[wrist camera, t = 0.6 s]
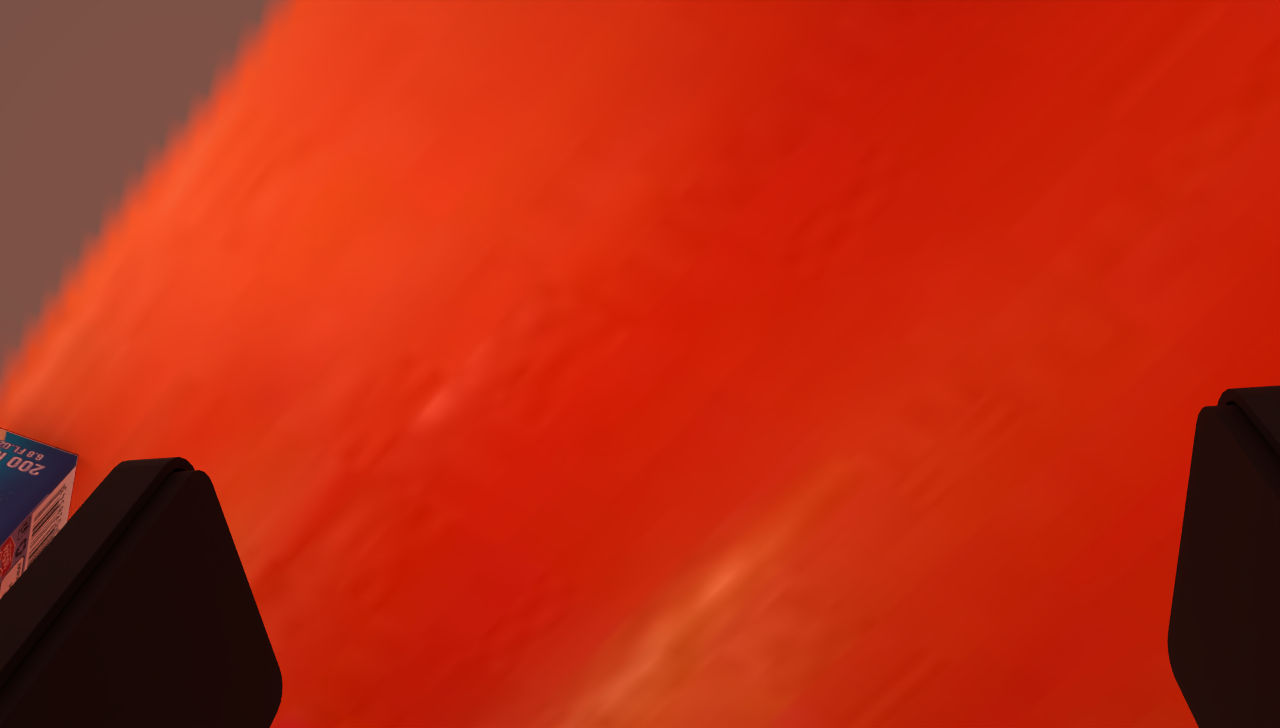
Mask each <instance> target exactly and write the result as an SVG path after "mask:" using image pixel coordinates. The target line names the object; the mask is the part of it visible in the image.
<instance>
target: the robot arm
mask: <svg viewBox="0 0 1280 728" xmlns="http://www.w3.org/2000/svg"><path fill="white" fill-rule="evenodd" d="M1168 653H1169V659H1170V664H1171V667H1172V671H1173V674H1174V676H1175V679H1176V681H1177V683H1178V685H1179V687H1180V689H1181V691H1182V694H1183V696H1184V698H1185V700H1186V702H1187V704H1188V706H1189V708H1190V710H1191V712H1192V714H1193V716H1194V718H1195V720H1196V723H1197V725H1198V727H1199V728H1280V386H1265V387H1250V388H1234V389H1227V390H1226V391H1225V392H1223V393H1222V395H1221V397H1220V399H1219V401H1218V405H1217V406H1206V407H1204V408H1202V409H1201V411H1200V413H1199V415H1198V419H1197V423H1196V430H1195V438H1194V445H1193V453H1192V460H1191V467H1190V475H1189V482H1188V490H1187V497H1186V504H1185V512H1184V519H1183V527H1182V534H1181V542H1180V549H1179V556H1178V564H1177V571H1176V579H1175V586H1174V593H1173V601H1172V608H1171V616H1170V623H1169V630H1168ZM281 697H282V676H281V672H280V668H279V665H278V663H277V660H276V657H275V654H274V652H273V649H272V646H271V643H270V641H269V638H268V635H267V632H266V630H265V627H264V624H263V621H262V619H261V616H260V613H259V610H258V608H257V605H256V602H255V599H254V597H253V594H252V591H251V588H250V586H249V583H248V580H247V577H246V575H245V572H244V569H243V566H242V564H241V561H240V558H239V555H238V553H237V550H236V547H235V544H234V542H233V539H232V536H231V533H230V531H229V528H228V525H227V522H226V520H225V517H224V514H223V511H222V509H221V506H220V503H219V500H218V498H217V495H216V492H215V489H214V487H213V484H212V482H211V480H210V478H209V476H208V475H207V474H206V473H205V472H203V471H200V470H196V471H195V470H194V468H193V466H192V465H191V464H190V463H189V462H188V461H187V460H186V459H183V458H181V457H173V458H158V459H142V460H129V461H124V462H121V463H120V464H118V465H117V466H116V467H115V468H114V469H113V470H112V471H111V472H110V473H109V474H108V476H107V477H106V478H105V479H104V480H103V481H102V482H101V484H100V485H99V486H98V487H97V488H96V489H95V491H94V492H93V493H92V494H91V495H90V496H89V497H88V499H87V500H86V501H85V502H84V503H83V504H82V506H81V507H80V508H79V509H78V510H77V511H76V512H75V514H74V515H73V516H72V517H71V518H70V519H69V521H68V522H67V523H66V524H65V525H64V526H63V527H62V529H61V530H60V531H59V532H58V533H57V534H56V536H55V537H54V538H53V539H52V540H51V541H50V542H49V544H48V545H47V546H46V547H45V548H44V549H43V550H42V552H41V553H40V554H39V555H38V556H37V557H36V559H35V560H34V561H33V562H32V563H31V564H30V565H29V567H28V568H27V569H26V570H25V571H24V572H23V574H22V575H21V576H20V577H19V578H18V579H17V580H16V582H15V583H14V584H13V585H12V586H11V587H10V589H9V590H8V591H7V592H6V593H5V594H4V595H3V597H2V598H1V599H0V728H270V726H271V724H272V722H273V720H274V718H275V715H276V713H277V711H278V708H279V706H280V702H281Z"/></svg>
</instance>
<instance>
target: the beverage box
mask: <svg viewBox="0 0 1280 728" xmlns="http://www.w3.org/2000/svg"><path fill="white" fill-rule="evenodd" d="M77 459H78V455H76V454H73V453H70V452H67V451H64V450H61V449H58V448H55V447H53V446H50V445H47V444H44V443H41V442H38V441H35V440H32V439H30V438H27V437H24V436H21V435H18V434H15V433H12V432H9V431H7V430H4V429H1V428H0V599H1V598H2V597H3V595H4V594H5V593H6V592H7V591H8V590H9V589H10V587H11V586H12V585H13V584H14V583H15V582H16V580H17V579H18V578H19V577H20V576H21V575H22V574H23V572H24V571H25V570H26V569H27V568H28V567H29V565H30V564H31V563H32V562H33V561H34V560H35V559H36V557H37V556H38V555H39V554H40V553H41V552H42V550H43V549H44V548H45V547H46V546H47V545H48V544H49V542H50V541H51V540H52V539H53V538H54V537H55V536H56V534H57V533H58V532H59V531H60V530H61V529H62V527H63V526H64V525H65V524H66V523H67V518H68V513H69V507H70V501H71V495H72V489H73V483H74V477H75V471H76V465H77Z"/></svg>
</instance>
